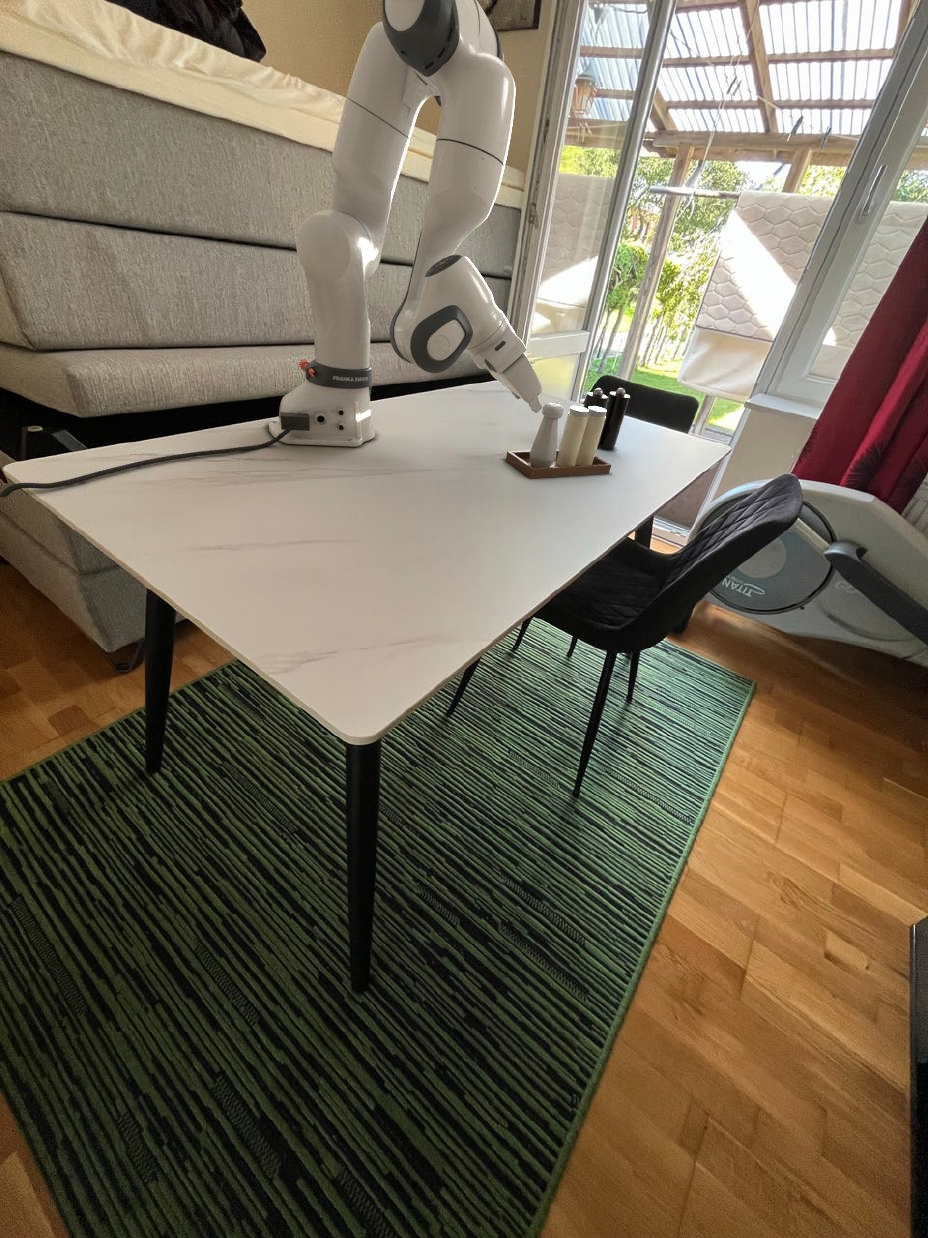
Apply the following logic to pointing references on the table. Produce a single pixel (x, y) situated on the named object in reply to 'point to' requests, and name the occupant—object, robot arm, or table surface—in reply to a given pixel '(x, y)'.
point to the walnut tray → (554, 466)
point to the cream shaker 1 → (572, 436)
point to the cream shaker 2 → (591, 435)
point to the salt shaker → (546, 437)
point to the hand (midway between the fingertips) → (528, 402)
